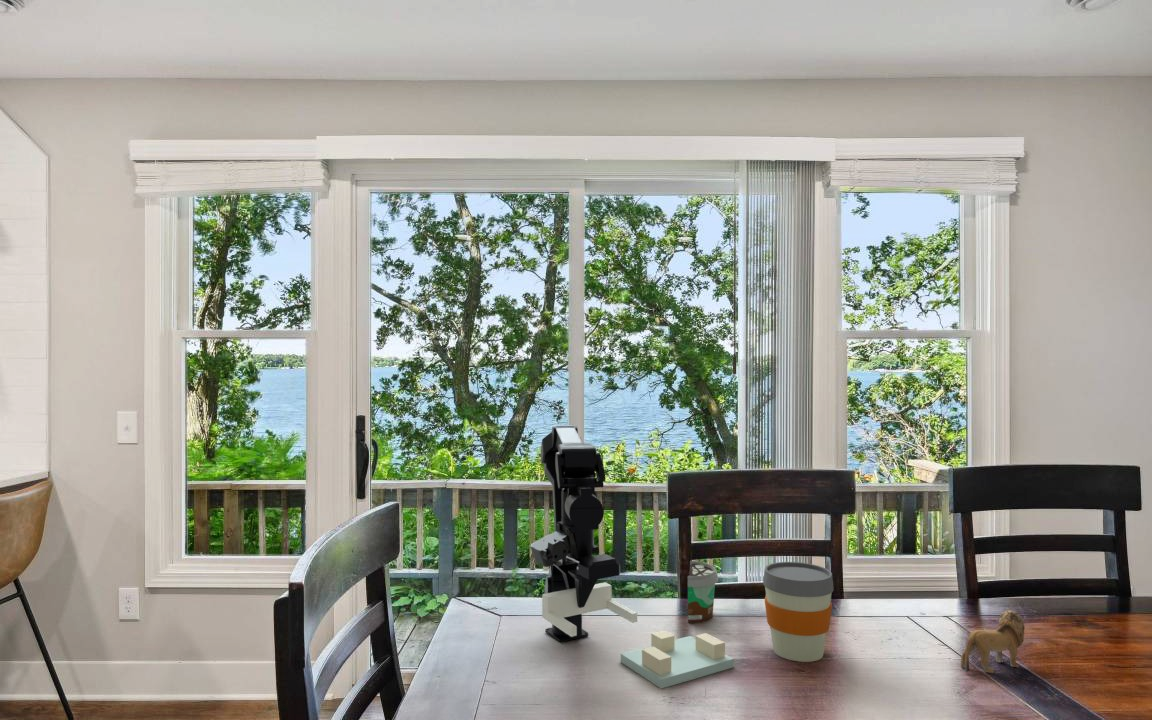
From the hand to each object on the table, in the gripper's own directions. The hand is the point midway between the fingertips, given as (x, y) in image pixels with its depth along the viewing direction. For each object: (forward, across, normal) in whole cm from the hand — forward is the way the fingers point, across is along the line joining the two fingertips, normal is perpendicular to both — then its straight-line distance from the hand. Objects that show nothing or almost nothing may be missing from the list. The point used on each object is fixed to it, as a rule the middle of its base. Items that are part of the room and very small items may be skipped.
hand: (577, 605), depth 125 cm
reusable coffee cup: (+11, +15, +39) cm, 43 cm away
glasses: (+1, +4, 0) cm, 4 cm away
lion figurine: (+11, +36, +64) cm, 75 cm away
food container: (+11, -8, +36) cm, 38 cm away
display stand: (+11, +8, +16) cm, 21 cm away
